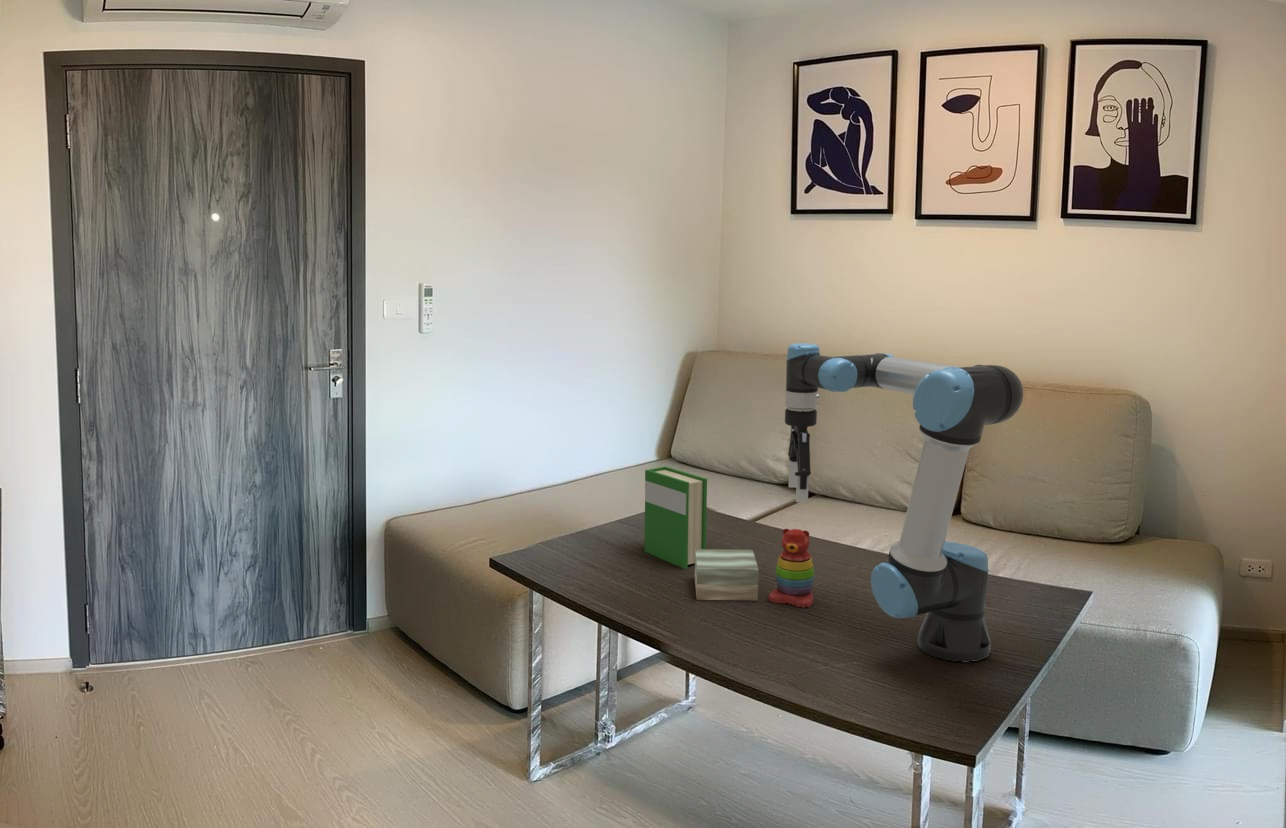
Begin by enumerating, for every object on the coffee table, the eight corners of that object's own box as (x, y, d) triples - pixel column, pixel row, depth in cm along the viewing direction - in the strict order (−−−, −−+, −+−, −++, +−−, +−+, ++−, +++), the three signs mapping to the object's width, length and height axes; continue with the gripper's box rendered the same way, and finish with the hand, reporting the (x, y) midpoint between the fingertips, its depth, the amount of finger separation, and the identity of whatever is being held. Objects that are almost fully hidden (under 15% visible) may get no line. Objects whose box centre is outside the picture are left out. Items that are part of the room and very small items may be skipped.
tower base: (757, 600, 233) (758, 569, 232) (696, 599, 233) (697, 568, 232) (751, 579, 248) (752, 549, 247) (694, 578, 248) (695, 549, 247)
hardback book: (705, 563, 260) (707, 478, 256) (684, 569, 255) (686, 482, 251) (664, 547, 274) (665, 466, 269) (644, 552, 269) (645, 470, 265)
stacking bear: (765, 601, 233) (767, 532, 229) (779, 588, 241) (781, 521, 238) (807, 609, 228) (810, 538, 224) (820, 596, 236) (823, 527, 233)
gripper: (825, 418, 214) (821, 508, 218) (809, 399, 238) (805, 481, 242) (792, 417, 214) (788, 508, 218) (779, 399, 238) (776, 481, 242)
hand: (797, 494), depth 230 cm, fingers open, 13 cm apart
